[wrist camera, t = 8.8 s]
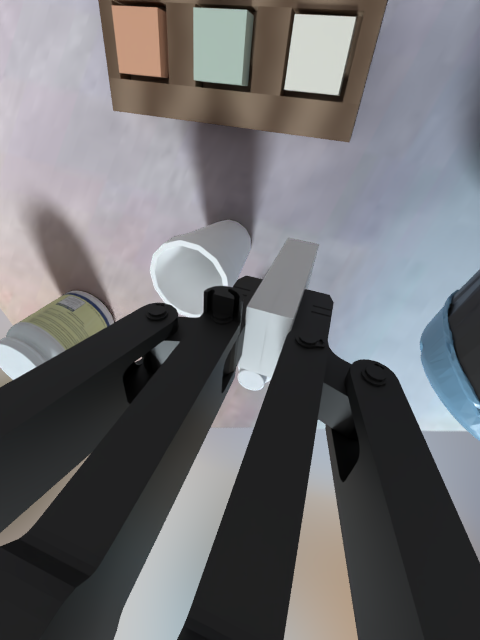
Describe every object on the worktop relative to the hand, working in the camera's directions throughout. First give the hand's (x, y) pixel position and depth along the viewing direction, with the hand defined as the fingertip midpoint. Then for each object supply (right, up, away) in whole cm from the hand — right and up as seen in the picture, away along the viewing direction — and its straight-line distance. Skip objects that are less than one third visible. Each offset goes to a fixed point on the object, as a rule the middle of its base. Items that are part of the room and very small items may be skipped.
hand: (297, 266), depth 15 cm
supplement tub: (-34, -1, +47) cm, 58 cm away
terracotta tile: (-13, +26, +16) cm, 33 cm away
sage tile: (-4, +23, +14) cm, 27 cm away
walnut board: (-3, +25, +16) cm, 29 cm away
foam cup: (-4, +9, +28) cm, 29 cm away
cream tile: (+4, +21, +12) cm, 25 cm away
